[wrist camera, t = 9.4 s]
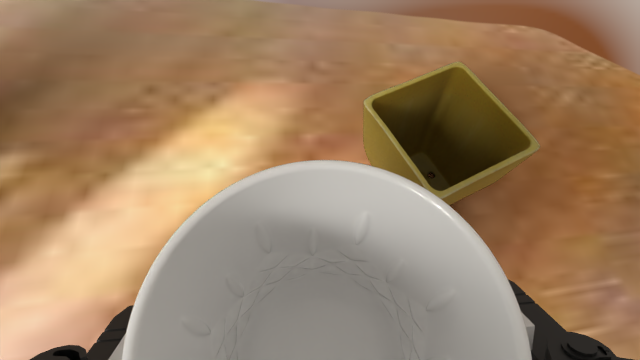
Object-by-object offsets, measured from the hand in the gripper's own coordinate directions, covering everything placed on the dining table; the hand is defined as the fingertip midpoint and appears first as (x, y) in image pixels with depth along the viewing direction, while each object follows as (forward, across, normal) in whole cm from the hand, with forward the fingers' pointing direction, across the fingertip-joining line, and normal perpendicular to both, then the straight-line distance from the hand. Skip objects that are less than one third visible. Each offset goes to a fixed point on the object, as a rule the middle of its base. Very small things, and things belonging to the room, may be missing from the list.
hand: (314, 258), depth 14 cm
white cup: (0, 0, -5) cm, 5 cm away
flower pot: (+18, +10, -3) cm, 20 cm away
